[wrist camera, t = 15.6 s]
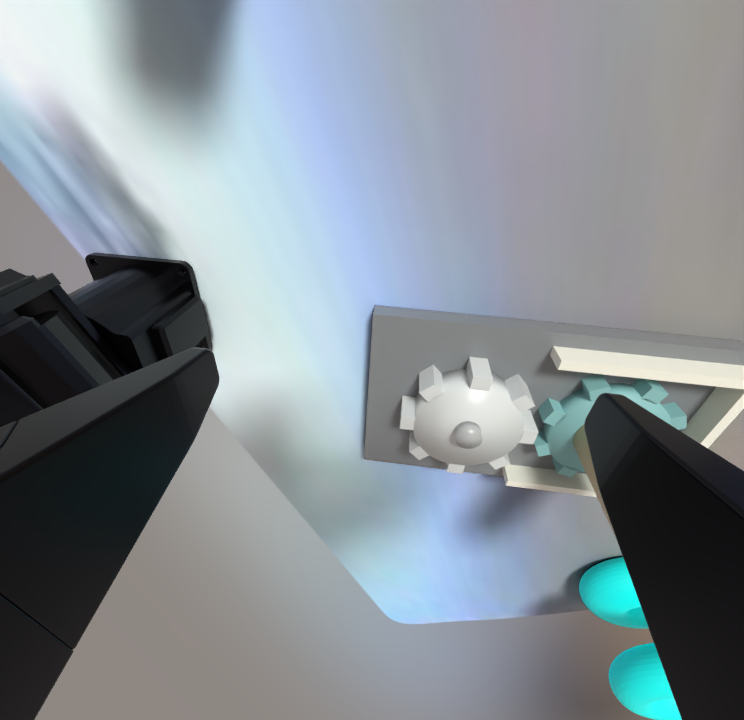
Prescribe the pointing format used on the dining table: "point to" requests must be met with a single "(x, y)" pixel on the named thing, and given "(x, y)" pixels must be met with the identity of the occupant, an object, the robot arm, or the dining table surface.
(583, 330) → the carrier plate
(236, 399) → the dining table surface
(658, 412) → the gear
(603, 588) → the donuts
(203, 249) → the dining table surface
